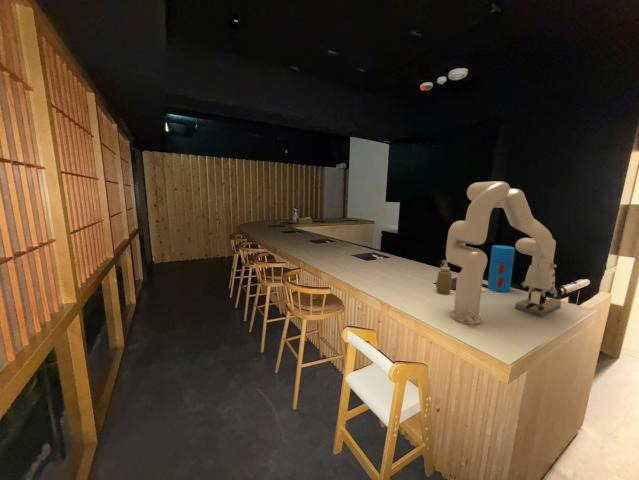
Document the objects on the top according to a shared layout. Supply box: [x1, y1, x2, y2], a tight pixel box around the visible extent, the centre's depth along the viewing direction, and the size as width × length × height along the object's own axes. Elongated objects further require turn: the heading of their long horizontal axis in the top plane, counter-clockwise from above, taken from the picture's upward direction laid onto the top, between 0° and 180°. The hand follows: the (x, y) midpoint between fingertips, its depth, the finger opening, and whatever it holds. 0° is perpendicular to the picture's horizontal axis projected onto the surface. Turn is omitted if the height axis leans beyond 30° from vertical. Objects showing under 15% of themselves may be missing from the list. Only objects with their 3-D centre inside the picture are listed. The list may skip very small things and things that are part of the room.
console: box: [514, 296, 562, 318], centre depth 129 cm, size 22×10×3 cm, turn 121°
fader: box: [530, 290, 542, 305], centre depth 127 cm, size 4×3×6 cm
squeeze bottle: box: [435, 260, 453, 295], centre depth 148 cm, size 8×8×18 cm
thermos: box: [487, 244, 516, 294], centre depth 153 cm, size 11×11×25 cm
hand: (536, 301), depth 127 cm, fingers closed on fader, 3 cm apart
